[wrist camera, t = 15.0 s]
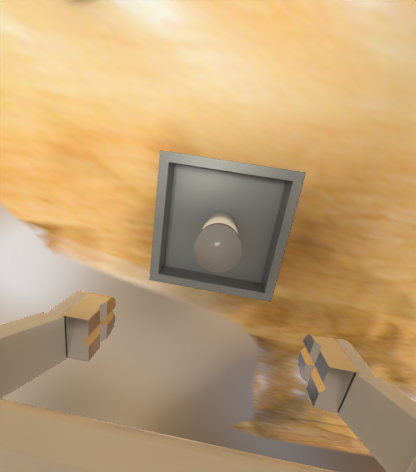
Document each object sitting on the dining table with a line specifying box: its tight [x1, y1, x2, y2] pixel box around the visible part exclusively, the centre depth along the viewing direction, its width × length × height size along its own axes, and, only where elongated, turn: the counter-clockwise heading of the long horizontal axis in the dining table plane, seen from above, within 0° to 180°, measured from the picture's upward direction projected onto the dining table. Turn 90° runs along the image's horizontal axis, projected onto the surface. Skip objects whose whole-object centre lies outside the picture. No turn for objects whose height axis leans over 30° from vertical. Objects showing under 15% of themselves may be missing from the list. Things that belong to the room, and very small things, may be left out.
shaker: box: [194, 212, 242, 273], centre depth 24 cm, size 5×5×11 cm
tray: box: [150, 150, 305, 302], centre depth 29 cm, size 18×18×4 cm
